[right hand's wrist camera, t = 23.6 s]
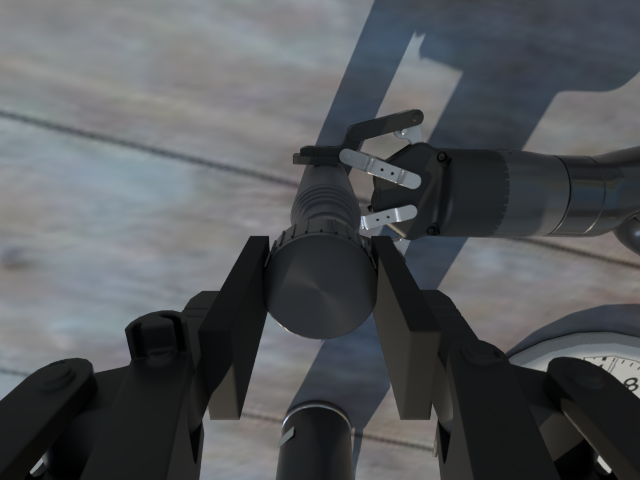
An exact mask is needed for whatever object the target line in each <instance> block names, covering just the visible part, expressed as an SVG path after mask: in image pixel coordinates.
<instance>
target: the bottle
mask: <svg viewBox="0 0 640 480" xmlns="http://www.w3.org/2000/svg"><path fill="white" fill-rule="evenodd" d="M320 217H322V219H331V220H334V219H336V221H338V222H341V223H343V224H345V225H347V224H348V225H349V227H351V228H352V229H353V230H354V231H356V232H359V229H360V225H361V211H360V207H359V204H358V202H357V199H356V196H355V194H354V191H353V188H352V186H351V183H350V181H349V178H348V175H347V173H346V170H345V168H344V166H343V164H342V163H338V166H329V165H307V166H306V168H305V171H304V174H303V177H302V180H301V183H300V186H299V189H298V192H297V195H296V198H295V201H294V204H293V207H292V210H291V226H293V224H294V223H296V224H297V223H299V222H302V221H305V220H306V219H320Z"/></svg>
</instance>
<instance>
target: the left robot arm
mask: <svg viewBox="0 0 640 480" xmlns="http://www.w3.org/2000/svg"><path fill="white" fill-rule="evenodd" d="M423 119H424V115H423V113H422V111H420V110H406V111H402V112H399V113H395V114H391V115H387V116H384V117H380V118H376V119H373V120H369V121H365V122H362V123H358V124H354V125H351V126H350V127H349V128H348V129H347V133H346V135H345V138H344V140H343V142H342V143H341V144H340V145H339V146H305V147H302V148H301V149H300V153H294V155H293V164H297V165H329V166H338V163H344V164H347V165H349V166H352V167H355V168H358V169H361V170H363V171H365V172H367V173H370V174H373V183H374V192H373V195H372V198H371V203H370V204H367V205H363V206H360V211H361V225H360V229H371V228H374V227H378V226H382V225H387V226H388V227H389V228H390V229H392V230H393V231H394V232H396V233H397V234H398V235H399V236H398V237H396V238H393V239H392V238H391V239H392V241H393V243H394V244H395V246H396V248H397V250H398V252H399V253H400V255H401V257H402V259H403V260H404V262H406V260H405V258H404V255H405V252H406V250H407V248H408V246H409V243H410V241H411V240H415V239H417V238H419V237H422V236H427V235H431V236H453V237H485V238H523V237H533V236H548V237H595V236H600V235H603V234H605V233H608V232H610V231H613V233H614V235H615V236H616V237H617V239H618V240H619V241H620V242H621V243H622V244H623V245H624V246H626V247H627V248H628V249H630V250H631V251H633V252H634V253H636V254H638V255H639V256H640V146H637V147H633V148H628V149H623V150H618V151H614V152H610V153H606V154H603V155H598V156H570V155H546V154H539V153H534V152H527V151H510V150H506V149H496V150H477V149H445V148H434V147H432V146H430V145H429V144H427V143H424V142H423V138H422V131H421V125H420V124H421V123H422V121H423ZM391 132H394V135H395V136H396V137H397V138H401V139H407V140H408V141H409V143H410V144H409V145H407V146H406V147H404V148H403V149H401V150H400V151H398V152H397V153H395V154H394V155H392V156H391V157H389V158H388V159H386V160H384V159H381V158H378V157H376V156H373V155H370V154H367V153H364V152H361V151H358V150H357V148H358V146H359V143H360V141H361V140H365V139H368V138H372V137H376V136H380V135H384V134H387V133H391ZM372 210H373V211H372ZM377 218H378V219H377ZM360 236H361V238H362V239H363V240H364V242H367V244H368V247H369V250H370V252H371V238H368V237H365V236H362V235H360ZM279 447H280V451H279V459H278V466H277V474H276V480H354V470H353V458H352V444H351V424H350V421H349V418H348V416H347V415H346V414H345V413H344V412H343V411H342V410H341V409H340V408H338V407H337V406H335V405H333V404H330V403H327V402H321V401H311V402H305V403H302V404H299V405H297V406H295V407H294V408H292V409H291V410H290V411H289V412H288V413H287V414H286V416H285V418H284V420H283V424H282V437H281V438H280V439H279V446H278V448H279Z"/></svg>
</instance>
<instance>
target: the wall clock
mask: <svg viewBox="0 0 640 480" xmlns="http://www.w3.org/2000/svg"><path fill="white" fill-rule="evenodd" d="M562 356H565V357H575V358H579V359H582V360H586V361H589V362H591V363H593V364H595V365H597V366H599V367H602V368H603V369H605V370H606V371H608V372H609V373H610V374H612V375H613V376H615V377H616V378H617V379H618V380H619V381H620V382H621V383H623V384H624V385H625V386H626V387H627V388H628V389H629V390H631V391H632V392H633V393H634V394H635V395H636V396H637V397H639V398H640V338H639V337H635V336H629V335H624V334H619V333H614V332H588V333H574V334H570V335H566V336H562V337H558V338H554V339H550V340H546V341H543V342H541V343H539V344H537V345H534V346H532V347H530V348H528V349H526V350H524V351H522V352H520V353H517V354H515V355H513V356H512V357H511V358H509V362H510V364H514V365H518V366H521V367H526V368H531V369H536V370H540V371H545V372H546V370H547V367H548V363H549V362H550V361H551V360H552V359H553V358H556V357H562ZM597 461H598V462H599V463H600V464H601V466H602V467H603V468H604V469H605V470H606V471H607V472H608V473H610V472H611V469H610V468H609V466H608V465H607V464H606V463H605V462H604V461H603V459H602V458H601V457H600V456H599V457H598V460H597Z"/></svg>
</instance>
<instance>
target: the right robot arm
mask: <svg viewBox="0 0 640 480" xmlns="http://www.w3.org/2000/svg"><path fill="white" fill-rule="evenodd" d="M269 251H270V248H269V236H250V238H249V239H248V241H247V243H246V245H245V247H244V248H243V250H242V252H241V254H240V256H239V257H238V259H237V261H236V263H235V265H234V266H233V268H232V270H231V272H230V274H229V275H228V277H227V279H226V281H225V282H224V284H223V286H222V288H221V290H220V291H202V292H200V293H199V294H197V295H196V296H194V297H193V298H191V299H190V301H189V302H188V304H187V305H186V306H185V308H184V310H183V311H182V312H177V311H173V310H162V311H157V312H152V313H149V314H146V315H144V316H141V317H139V318H137V319H136V320H134V321H132V322H131V323H130V324H129V325H128V326H127V327H126V328H125V333H126V337H127V342H128V346H129V350H130V355H131V359H132V360H131V362H130V364H129V365H128V366H125V367H121V368H117V369H112V370H107V371H102V372H98V373H94V369H93V366H92V363H90V362H89V361H88V360H87V359H81V358H71V359H64V360H59V361H56V362H53V363H51V364H49V365H47V366H45V367H43V368H40V369H38V370H37V371H36V372H34V373H33V374H31V375H30V376H28V377H27V378H26V379H25V380H24V381H23V382H21V383H20V384H19V385H18V386H17V387H16V388H15V389H13V390H12V391H11V392H10V393H9V394H8V395H7V396H5V397H4V398H3V399H2V400H1V401H0V480H199V477H200V468H201V459H202V450H203V441H204V429H203V422H202V419H203V416H204V413H205V411H206V408H207V406H208V407H209V414H210V420H240V416H241V412H242V408H243V405H244V401H245V397H246V393H247V389H248V385H249V382H250V378H251V374H252V370H253V366H254V362H255V358H256V355H257V351H258V347H259V343H260V339H261V335H262V332H263V328H264V324H265V320H266V316H267V312H268V310H267V308H266V306H265V303H264V300H263V285H262V277H263V273H264V270H265V269H264V265H265V262H266V260H267V257H268V254H269ZM370 253H371V254H372V257H373V260H374V263H375V265H376V268H377V271H376V272H377V276H378V289H377V301H376V304H375V307H374V309H373V310H372V312H373V315H374V319H375V323H376V327H377V331H378V335H379V338H380V342H381V346H382V350H383V354H384V358H385V361H386V365H387V369H388V373H389V377H390V381H391V384H392V388H393V392H394V396H395V400H396V404H397V408H398V411H399V415H400V419H401V420H430V415H431V408H432V403H433V406H434V408H435V411H436V414H437V416H438V422H437V429H436V435H435V442H434V448H433V455H432V456H433V457H437V454H438V458H439V467H440V476H441V480H640V398H639V397H637V396H636V395H635V394H634V393H633V392H632V391H631V390H629V389H628V388H627V387H626V386H625V385H624V384H623V383H621V382H620V381H619V380H618V379H617V378H616V377H615V376H613V375H612V374H610V373H609V372H608V371H606V370H605V369H603V368H602V367H599V366H597V365H595V364H593V363H591V362H589V361H586V360H582V359H579V358H575V357H565V356H562V357H556V358H553V359H552V360H551V361H550V362H549V363H548V367H547V370H546V372H545V371H540V370H536V369H531V368H526V367H521V366H518V365H514V364H510V362H509V359H508V358H507V357H506V355H505V354H504V352H502V351H501V350H500V349H498V348H497V347H496V346H494V345H492V344H490V343H487V342H485V341H482V340H479V339H478V338H477V336H476V335H475V334H474V332H473V331H472V329H471V328H470V326H469V325H468V323H467V322H466V321H465V319H464V318H463V316H461V313H460V312H459V310H458V309H456V306H455V305H454V303H453V302H452V300H451V299H450V298H449V297H448V296H446V295H445V294H443V293H442V292H440V291H439V290H420V289H419V287H418V286H417V284H416V282H415V280H414V278H413V277H412V275H411V273H410V271H409V269H408V268H407V266H406V264H405V262H404V260H403V259H402V257H401V255H400V253H399V252H398V250H397V248H396V246H395V244H394V243H393V241H392V239H391V237H390V236H371V252H370ZM599 456H600V457H601V458H602V459H603V461H604V462H605V463H606V464H607V465H608V466H609V468H610V469H611V472H610V473H608V472H607V471H606V470H605V469H604V468H603V467H602V466H601V464H600V463H599V462H598V461H597V460H598V457H599ZM41 457H42V459H43V463H42V464H41V465H40V467H39V468H38V469H37V470H36V471H35V472H34V473H33V474H30V471H31V469H32V468H33V467H34V466H35V465H36V463H37V462H38V461H39V460H40V459H41Z"/></svg>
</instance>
